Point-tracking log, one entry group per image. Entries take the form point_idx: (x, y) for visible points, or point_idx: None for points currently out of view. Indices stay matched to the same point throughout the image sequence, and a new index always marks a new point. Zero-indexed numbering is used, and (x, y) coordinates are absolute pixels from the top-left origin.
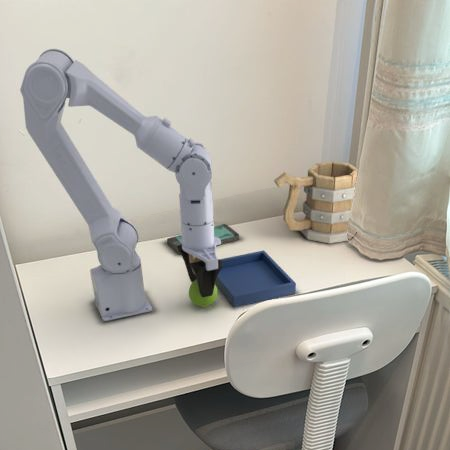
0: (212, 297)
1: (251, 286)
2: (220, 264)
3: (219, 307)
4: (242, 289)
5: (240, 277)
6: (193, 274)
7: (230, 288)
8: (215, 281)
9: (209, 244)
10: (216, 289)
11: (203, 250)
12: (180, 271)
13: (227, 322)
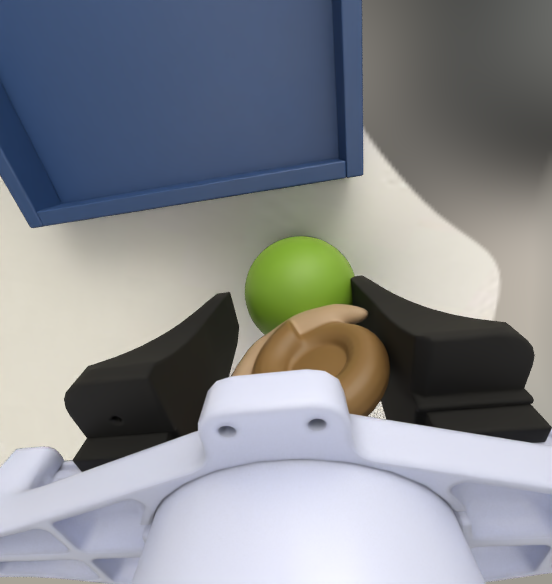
0: (351, 268)
1: (215, 35)
2: (530, 354)
3: (330, 223)
4: (235, 96)
5: (121, 75)
6: (231, 338)
7: (285, 172)
8: (397, 296)
9: (473, 558)
10: (326, 252)
11: (468, 542)
12: (66, 299)
13: (437, 217)
